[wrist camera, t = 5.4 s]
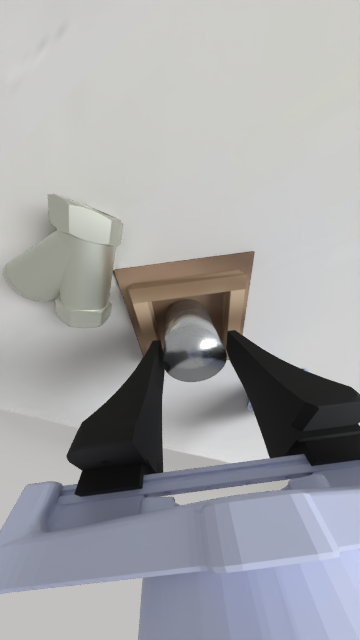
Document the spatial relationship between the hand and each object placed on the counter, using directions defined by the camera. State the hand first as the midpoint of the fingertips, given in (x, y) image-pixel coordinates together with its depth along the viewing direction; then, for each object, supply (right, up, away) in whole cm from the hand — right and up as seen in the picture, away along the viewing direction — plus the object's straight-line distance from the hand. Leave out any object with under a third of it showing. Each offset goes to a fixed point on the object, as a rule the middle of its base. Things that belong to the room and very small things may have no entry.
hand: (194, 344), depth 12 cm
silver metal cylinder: (-1, +2, +3) cm, 4 cm away
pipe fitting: (-10, +7, 0) cm, 12 cm away
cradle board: (0, +2, +4) cm, 5 cm away
